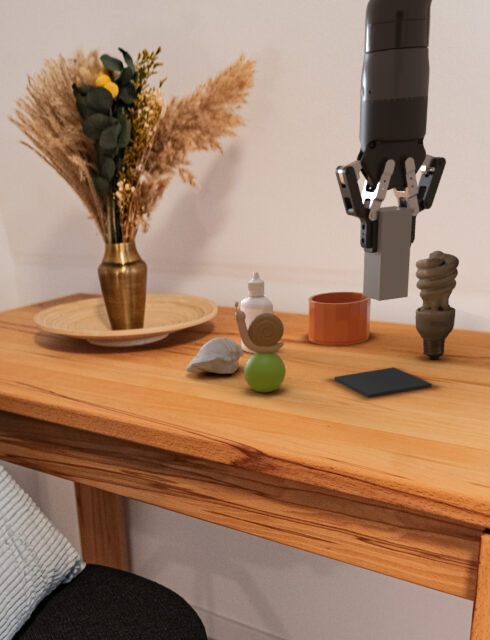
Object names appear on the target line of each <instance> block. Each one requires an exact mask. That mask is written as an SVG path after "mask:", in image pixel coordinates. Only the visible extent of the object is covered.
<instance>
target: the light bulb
mask: <svg viewBox="0 0 490 640" xmlns="http://www.w3.org/2000/svg"><path fill="white" fill-rule="evenodd" d="M459 265H460V260H459V258H458V257H457V256H456V255H453V254H450V253H446V252H443V251H442V250H434V251H433V252H430V253H429V255H428V258H423V259H419V260H417V261H416V262H415V267H416V272H415V277H416V278H417V279H418V280H417V282H416V285H415V286H416V288H417V289H418V290H419V291H420V292H419V297H420V299H421V300H422V306H420V307H417V308H416V310H415V329H416V331H417V333H418V335H420V337H421V339H422V345H423V347H422V348H423V352H422V354H423V355H424V356H427V357H428V359H429V360H430V361H437V360H440V357H443V356H444V354H445V342H446V339H447V338H448V336H449V335H450V333H452V331H453V330H454V326H455V320H456V308H455V307H452V306H451V305H450V301H449V300H450V297H451V295H452V293H453V290H454V289H456V287H457V280H456V278H457V277H458V274H459V271H458V267H459Z"/></svg>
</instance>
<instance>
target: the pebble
mask: <svg viewBox="0 0 490 640" xmlns="http://www.w3.org/2000/svg"><path fill="white" fill-rule="evenodd" d="M241 357H244V350H243V349H242V347H241V345H240V344H238V343H237V342H236V341H235V340H233V339H232V338H228V337H220V336H219V337H215V338H212V339H210V340H209V341H207V342H205V343H204V344H203V345H202V346H201V347H200V348H199V350H198V353H197V354H195V355H194V357H193V358H192V359H191V361H190V362H189V364H187V366H186V368H185V369H186V372H187V373H215V374H221V375H222V374H224V375H225V374H234V373H235V372H236V371H237V370H238V368H239V366H240V365H239V360H240V358H241Z"/></svg>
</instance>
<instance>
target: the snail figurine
mask: <svg viewBox="0 0 490 640" xmlns="http://www.w3.org/2000/svg"><path fill="white" fill-rule="evenodd" d="M234 307H235V313H234V317H235V318H234V319H235V321H236V325H237V330H238V333H239V337H240V340H241V339H242V342H243V343H244V345H245V346H246V347H247V348H248V349H250V350H252V351H254V352H256V353H253V354H252V355H250V357H249V358H248V359H247V361H246V362H245V365H244V368H243V377H244V381H245V382H246V384H247V385H248V387H249V388H250V389H252V390H253V391H254V392H257V393H263V394H265V393H271V392H274V391H276V390H277V389H278V388H279V387H280V386H282V384H283V383H284V380H285V377H286V374H287V373H286V372H287V371H286V366H285V362H284V361H283V359H282V358H281V356H279V354H277V353H276V352H278V351H279V350H280V349H282V347H283V346H284V345H285V344H284V341H283V342H282V341H281V342H280V340H281V339H282V338H283V336H284V331H285V329H284V324H283V322H282V320H281V319H280V317H279V316H277V315H276V314H274V313H273V314H270V313H263V314H260V315H258V316H256V317H255V318H254V319H253V320H252V321H251V323H250V325H249V328H248V330H247V327H246V323H245V318H246V315H245V313H244V312H243V311H240V310H238V309H237V308H238V307H239V302H238V301H235V302H234Z"/></svg>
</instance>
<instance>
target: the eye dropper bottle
mask: <svg viewBox="0 0 490 640" xmlns="http://www.w3.org/2000/svg"><path fill="white" fill-rule="evenodd" d="M251 278H252V279H251V280H249V281H248V282H247V295H248V296H247V297H245V298H243V299H242V300H241V302H240V306H239V307H240V310H239V311H243V312H244V313H245V315H246V318H245V323H246V327H247V330H248V328H249V325H250V323H251V321H252V320H253V319H254V318H255V317H256V316H258V315H260V314H263V313H270V314H274V304H273V303H272V301H271V300H270V299H269V298H268V297H266V296H265V281H264V280H262V279H261V278H260V275H259V271H253V273H252V277H251ZM240 347H241V348H242V350H243V352H247V353H251V354H255V353H256V352H254V351H252V350H250V349H248V348H247V347H246V346H245V345H244V343H243V342H242V339H241V338H240Z"/></svg>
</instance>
